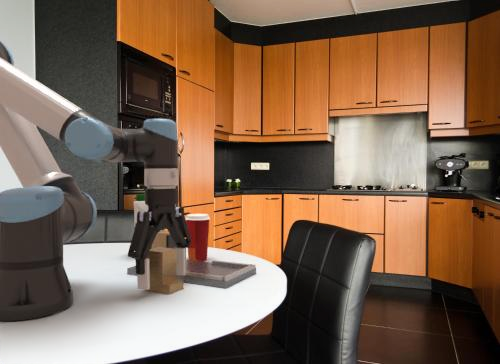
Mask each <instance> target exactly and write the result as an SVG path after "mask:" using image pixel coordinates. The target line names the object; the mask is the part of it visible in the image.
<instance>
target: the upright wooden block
mask: <svg viewBox="0 0 500 364" xmlns="http://www.w3.org/2000/svg"><path fill="white" fill-rule="evenodd" d="M146 258H147V259H149V274H150V289H149V290H146V291H147V292H153V293H160V294H164V295H165V294H166V295H172V294H174V293H176V292H179V291H182V290H184V288H185V287H184V286H185V282H184V280H180V279H177V249H174V248H164V247H157V248H153V249H150V250H149V253H148V255H147V257H146Z"/></svg>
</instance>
